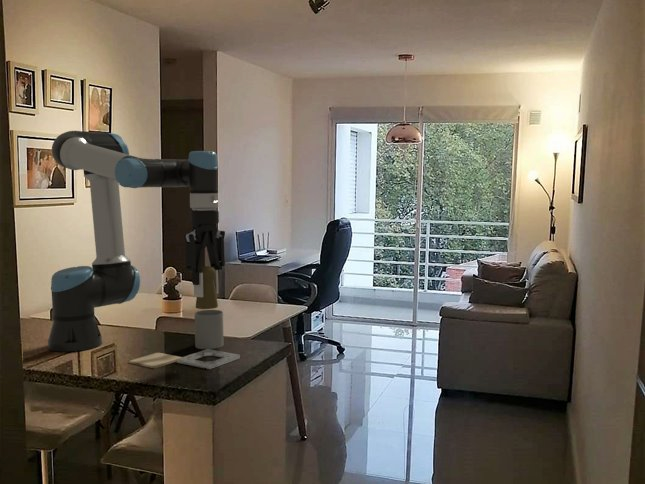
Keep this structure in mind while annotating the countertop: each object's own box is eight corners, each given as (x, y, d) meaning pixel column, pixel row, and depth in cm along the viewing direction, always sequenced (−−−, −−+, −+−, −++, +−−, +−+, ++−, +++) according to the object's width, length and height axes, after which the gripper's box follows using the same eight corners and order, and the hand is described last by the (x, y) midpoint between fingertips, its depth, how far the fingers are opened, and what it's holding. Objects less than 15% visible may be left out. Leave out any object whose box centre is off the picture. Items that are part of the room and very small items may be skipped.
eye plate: (177, 362, 170) (176, 359, 170) (207, 352, 180) (207, 348, 180) (209, 369, 164) (209, 365, 163) (239, 358, 174) (239, 354, 173)
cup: (217, 349, 183) (216, 316, 182) (190, 348, 184) (189, 315, 184) (227, 342, 191) (226, 310, 190) (202, 341, 193) (201, 309, 192)
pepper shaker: (222, 306, 171) (221, 266, 170) (207, 310, 166) (206, 268, 165) (206, 303, 175) (205, 264, 174) (190, 307, 170) (189, 267, 168)
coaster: (129, 362, 170) (129, 360, 170) (157, 354, 179) (157, 352, 178) (154, 368, 165) (154, 366, 165) (182, 359, 173) (182, 357, 173)
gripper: (190, 211, 158) (192, 301, 161) (237, 208, 173) (239, 291, 176) (169, 210, 162) (171, 298, 165) (217, 207, 178) (219, 288, 180)
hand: (206, 294), depth 170 cm, fingers closed on pepper shaker, 5 cm apart
